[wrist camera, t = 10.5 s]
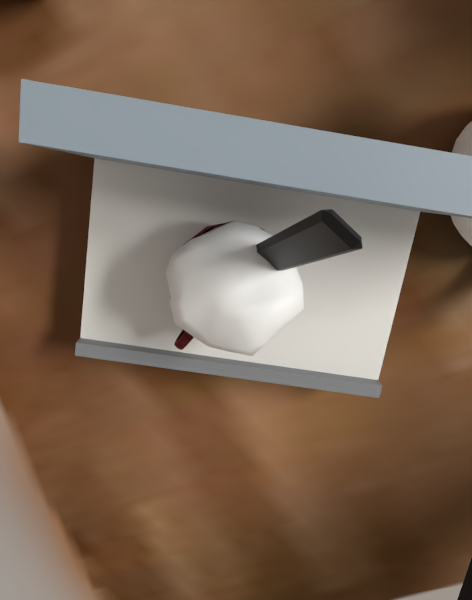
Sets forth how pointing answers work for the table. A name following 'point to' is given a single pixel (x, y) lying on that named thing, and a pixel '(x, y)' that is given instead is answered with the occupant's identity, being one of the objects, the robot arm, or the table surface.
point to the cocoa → (248, 279)
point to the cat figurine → (468, 144)
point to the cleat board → (247, 209)
